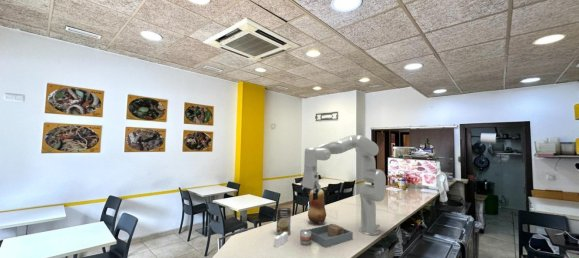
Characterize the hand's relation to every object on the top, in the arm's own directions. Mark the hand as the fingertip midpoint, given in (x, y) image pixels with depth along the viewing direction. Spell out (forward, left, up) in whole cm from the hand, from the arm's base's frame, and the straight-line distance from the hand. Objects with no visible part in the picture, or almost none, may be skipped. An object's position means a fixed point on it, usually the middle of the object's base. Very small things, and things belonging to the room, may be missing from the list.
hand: (309, 198), depth 142 cm
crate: (-16, 0, -27) cm, 31 cm away
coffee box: (+3, -23, -27) cm, 36 cm away
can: (0, -3, -27) cm, 27 cm away
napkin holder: (+13, -11, -28) cm, 33 cm away
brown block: (-21, 0, -26) cm, 34 cm away
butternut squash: (-29, -27, -27) cm, 48 cm away
